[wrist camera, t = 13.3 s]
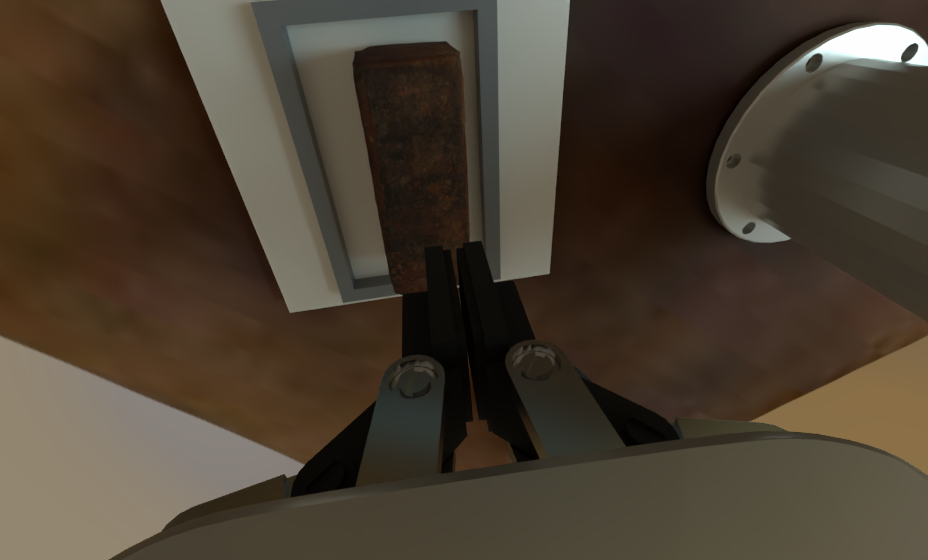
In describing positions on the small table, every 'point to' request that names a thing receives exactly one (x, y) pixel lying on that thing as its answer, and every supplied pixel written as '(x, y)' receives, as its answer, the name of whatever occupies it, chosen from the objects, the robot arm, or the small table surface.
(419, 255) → the brick
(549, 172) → the baseplate
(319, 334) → the small table surface
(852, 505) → the robot arm
